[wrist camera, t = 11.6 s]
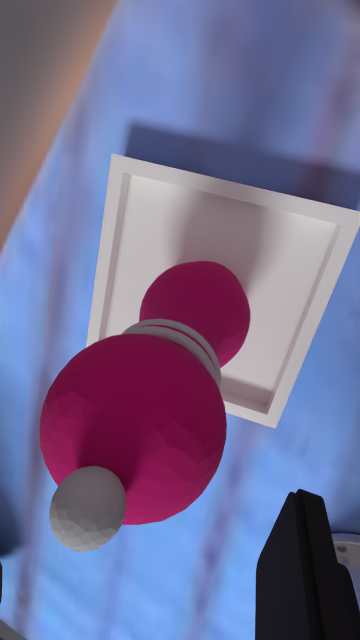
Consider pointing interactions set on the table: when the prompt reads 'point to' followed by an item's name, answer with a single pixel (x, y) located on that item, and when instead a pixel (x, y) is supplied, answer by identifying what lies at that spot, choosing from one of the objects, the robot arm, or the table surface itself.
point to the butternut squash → (0, 581)
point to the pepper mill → (144, 409)
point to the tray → (235, 254)
